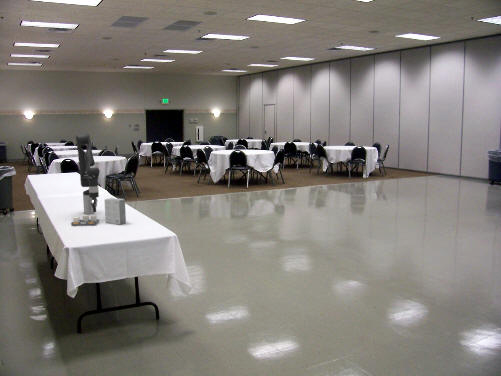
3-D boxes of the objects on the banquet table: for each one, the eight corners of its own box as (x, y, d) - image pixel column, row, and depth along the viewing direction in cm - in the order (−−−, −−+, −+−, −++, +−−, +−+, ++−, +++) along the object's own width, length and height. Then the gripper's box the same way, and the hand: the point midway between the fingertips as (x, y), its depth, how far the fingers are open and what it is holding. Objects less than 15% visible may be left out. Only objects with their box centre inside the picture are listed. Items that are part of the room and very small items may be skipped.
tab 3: (91, 220, 403) (91, 214, 402) (96, 220, 403) (96, 214, 403) (90, 221, 399) (90, 215, 398) (95, 221, 399) (95, 215, 399)
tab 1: (74, 222, 395) (74, 216, 395) (79, 222, 396) (79, 216, 395) (73, 223, 392) (73, 217, 391) (78, 223, 392) (78, 217, 391)
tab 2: (84, 220, 402) (83, 214, 402) (89, 220, 403) (88, 214, 402) (83, 221, 398) (82, 215, 398) (88, 221, 399) (87, 215, 398)
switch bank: (75, 222, 403) (75, 219, 403) (98, 222, 405) (98, 218, 404) (71, 226, 391) (71, 222, 390) (95, 225, 393) (95, 222, 392)
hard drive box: (126, 222, 402) (125, 199, 399) (120, 224, 396) (119, 200, 392) (111, 221, 409) (110, 197, 406) (105, 223, 402) (104, 199, 399)
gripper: (91, 190, 411) (92, 210, 413) (87, 192, 398) (88, 213, 400) (100, 190, 412) (101, 210, 414) (96, 192, 398) (97, 213, 401)
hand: (94, 212), depth 407 cm, fingers closed
